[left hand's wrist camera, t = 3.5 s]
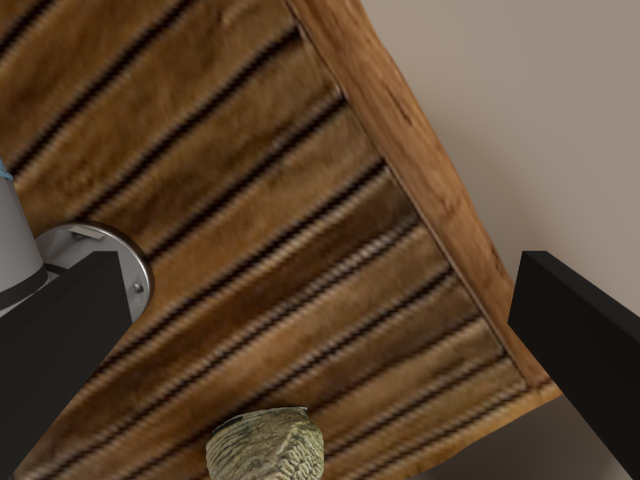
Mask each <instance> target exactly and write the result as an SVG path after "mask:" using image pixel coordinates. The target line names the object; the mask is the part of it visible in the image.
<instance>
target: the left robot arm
mask: <svg viewBox="0 0 640 480" xmlns="http://www.w3.org/2000/svg"><path fill="white" fill-rule="evenodd" d="M12 181H13V177H12V175H11V174H10V173H8V172H7V171H6V169H5V167H4V164H3V162H2V160H1V158H0V480H14V477H13V474H12V473H13V472H14V470H15V469H16V468H17V467H18V466H19V464H20V463H21V462H22V461H23V459H24V458H25V457H26V456H27V454H28V453H29V452H30V451H31V449H32V448H33V447H34V446H35V444H36V443H37V442H38V441H39V439H40V438H41V437H42V436H43V434H44V433H45V432H46V431H47V429H48V428H49V427H50V426H51V424H52V423H53V422H54V421H55V419H56V418H57V417H58V416H59V414H60V413H61V412H62V411H63V409H64V408H65V407H66V406H67V405H68V403H69V402H70V401H71V400H72V398H73V397H74V396H75V395H76V393H77V392H78V391H79V390H80V388H81V387H82V386H83V385H84V383H85V382H86V381H87V380H88V378H89V377H90V376H91V375H92V373H93V372H94V371H95V370H96V368H97V367H98V366H99V365H100V363H101V362H102V361H103V360H104V358H105V357H106V356H107V355H108V353H109V352H110V351H111V350H112V348H113V347H114V346H115V345H116V343H117V342H118V341H119V340H120V339H121V337H122V336H123V335H124V334H125V332H126V331H127V330H128V329H129V327H130V326H131V325H132V324H133V323H134V322H135V321H136V320H137V319H138V318H139V317H140V316H141V315H142V313H143V312H144V311H145V310H146V308H147V307H148V305H149V304H150V302H151V300H152V297H153V293H154V275H153V271H152V268H151V265H150V263H149V261H148V259H147V257H146V256H145V254H144V253H143V251H142V250H141V249H140V247H139V246H138V245H137V244H136V243H135V242H134V241H133V240H132V239H130V238H129V237H128V236H126V235H125V234H124V233H122V232H120V231H119V230H117V229H115V228H113V227H111V226H108V225H106V224H102V223H99V222H94V221H85V220H79V221H70V222H66V223H63V224H60V225H58V226H56V227H54V228H52V229H50V230H48V231H46V232H44V233H43V234H41V235H40V236H39V237H38V238H36V239H34V237H33V234H32V232H31V229H30V227H29V224H28V222H27V219H26V217H25V214H24V211H23V209H22V206H21V204H20V201H19V199H18V196H17V194H16V191H15V188H14V186H13V183H12ZM507 324H508V325H509V326H510V327H511V329H512V330H513V331H514V332H515V334H516V335H517V336H518V337H519V339H520V340H521V341H522V342H523V344H524V345H525V346H526V347H527V348H528V350H529V351H530V352H531V353H532V355H533V356H534V357H535V358H536V360H537V361H538V362H539V363H540V365H541V366H542V367H543V368H544V370H545V371H546V372H547V373H548V375H549V376H550V377H551V378H552V380H553V381H554V382H555V383H556V385H557V386H558V387H559V388H560V390H561V391H562V392H563V393H564V395H565V396H566V397H567V398H568V400H569V401H570V402H571V403H572V405H573V406H574V407H575V408H576V409H577V411H578V412H579V413H580V414H581V416H582V417H583V418H584V419H585V421H586V422H587V423H588V424H589V426H590V427H591V428H592V429H593V431H594V432H595V433H596V434H597V436H598V437H599V438H600V439H601V441H602V442H603V443H604V444H605V446H606V447H607V448H608V449H609V451H610V452H611V453H612V454H613V456H614V457H615V458H616V459H617V461H618V462H619V463H620V464H621V466H622V467H623V468H624V469H625V470H626V472H627V473H628V474H629V475H630V477H631V478H632V479H633V480H640V317H638V316H637V315H636V314H634V313H633V312H631V311H630V310H629V309H627V308H626V307H624V306H623V305H621V304H620V303H619V302H617V301H616V300H615V299H613V298H612V297H610V296H609V295H607V294H606V293H605V292H603V291H602V290H600V289H599V288H598V287H596V286H595V285H593V284H592V283H591V282H589V281H588V280H586V279H585V278H584V277H582V276H581V275H579V274H578V273H576V272H575V271H574V270H572V269H571V268H570V267H568V266H567V265H565V264H564V263H562V262H561V261H560V260H558V259H557V258H555V257H554V256H553V255H551V254H550V253H548V252H547V251H522V256H521V260H520V265H519V270H518V275H517V280H516V284H515V289H514V294H513V299H512V303H511V308H510V313H509V318H508V322H507Z"/></svg>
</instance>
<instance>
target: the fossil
mask: <svg viewBox="0 0 640 480" xmlns="http://www.w3.org/2000/svg"><path fill="white" fill-rule="evenodd" d="M323 446H324V445H323V437H322V432H321V431H320V429H319V428H318V427H317V426H316V425H314V424H313V423H312V422H311V420H309V417H308V414H307V408H305V407H287V408H274V409H270V410H259V411H255V412H250V413H246V414H242V415H239V416H236V417H233V418H232V419H230V420H228V421H226V422H225V423H224V424H223V425H220V426H218V427H217V428H216V429H215V430H214V431H213V432H212V436H211V438H210V440H209V441H208V442H207V443H206V451H207V454H206V460H207V467H208V470H209V474H210V477H211V479H212V480H321V479H320V478H321V475H322V473H323V468H324V467H323V464H324V463H323V460H324V452H323Z"/></svg>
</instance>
